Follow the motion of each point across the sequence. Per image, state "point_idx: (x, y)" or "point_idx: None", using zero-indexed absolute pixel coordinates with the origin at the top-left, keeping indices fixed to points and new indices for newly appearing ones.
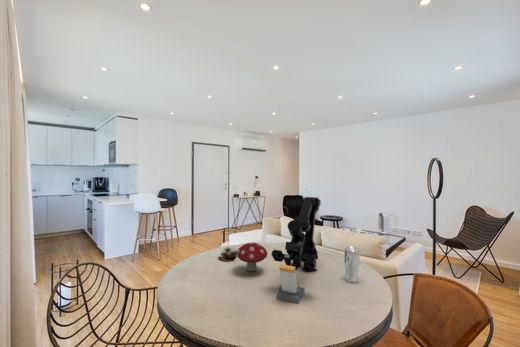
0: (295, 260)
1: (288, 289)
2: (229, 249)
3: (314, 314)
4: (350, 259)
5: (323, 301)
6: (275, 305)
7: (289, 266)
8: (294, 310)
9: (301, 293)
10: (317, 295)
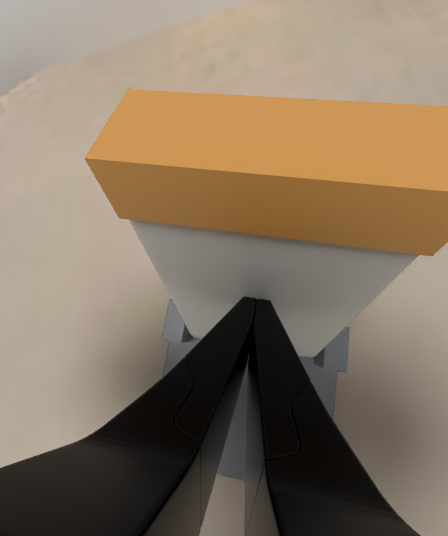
0: (22, 511)
1: None
2: None
3: (105, 206)
4: None
5: (46, 350)
6: None
7: (227, 149)
8: None
9: (167, 354)
10: (74, 422)
